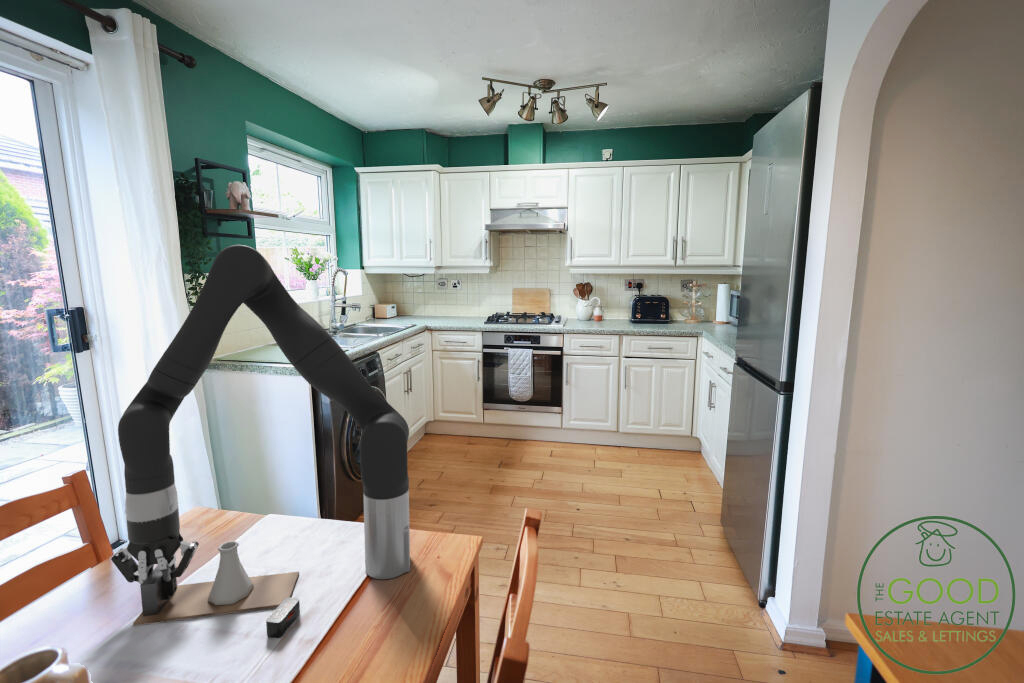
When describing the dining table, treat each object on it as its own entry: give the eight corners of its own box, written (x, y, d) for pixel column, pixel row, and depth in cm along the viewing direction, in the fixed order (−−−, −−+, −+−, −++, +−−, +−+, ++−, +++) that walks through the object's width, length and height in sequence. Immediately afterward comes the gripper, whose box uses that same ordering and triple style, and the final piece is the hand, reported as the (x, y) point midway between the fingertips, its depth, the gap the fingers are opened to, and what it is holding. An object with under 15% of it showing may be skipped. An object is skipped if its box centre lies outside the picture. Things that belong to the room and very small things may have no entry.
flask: (232, 609, 86) (229, 558, 84) (199, 603, 87) (195, 553, 86) (261, 585, 93) (258, 537, 91) (230, 580, 94) (227, 533, 93)
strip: (299, 573, 97) (297, 544, 96) (287, 605, 88) (285, 573, 87) (162, 589, 92) (159, 558, 91) (133, 625, 82) (130, 591, 81)
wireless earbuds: (303, 611, 87) (303, 595, 86) (280, 640, 79) (279, 623, 79) (280, 609, 87) (279, 593, 87) (255, 638, 80) (254, 620, 80)
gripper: (204, 497, 90) (210, 581, 92) (120, 503, 87) (128, 590, 89) (186, 516, 83) (193, 606, 85) (94, 524, 80) (103, 617, 82)
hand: (160, 597), depth 87 cm, fingers closed on strip, 2 cm apart
